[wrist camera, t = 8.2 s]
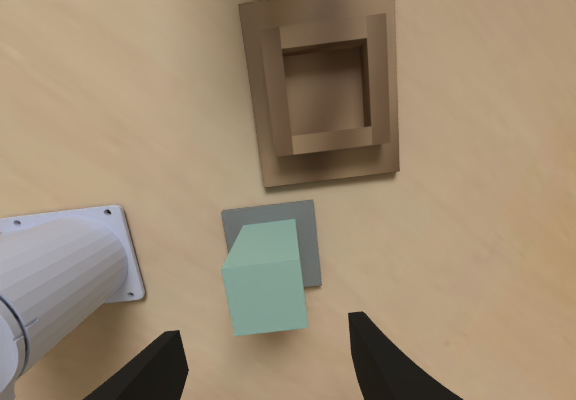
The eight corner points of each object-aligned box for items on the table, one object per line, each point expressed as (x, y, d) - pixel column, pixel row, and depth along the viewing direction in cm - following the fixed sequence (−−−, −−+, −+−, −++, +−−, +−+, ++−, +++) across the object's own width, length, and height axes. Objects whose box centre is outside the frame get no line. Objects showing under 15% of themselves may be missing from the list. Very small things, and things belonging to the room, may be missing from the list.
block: (251, 272, 21) (234, 336, 14) (243, 225, 20) (221, 268, 13) (301, 266, 21) (308, 327, 14) (295, 218, 20) (299, 259, 13)
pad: (237, 290, 22) (236, 294, 21) (223, 210, 21) (221, 212, 20) (320, 281, 22) (321, 285, 21) (312, 199, 20) (313, 201, 20)
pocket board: (265, 185, 20) (262, 191, 18) (240, 8, 18) (233, -10, 15) (396, 170, 20) (409, 173, 18) (390, -12, 17) (405, -33, 15)
